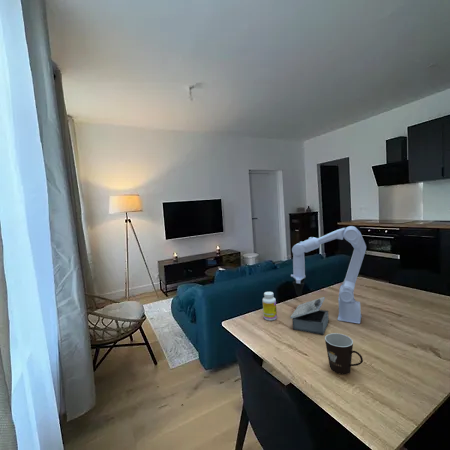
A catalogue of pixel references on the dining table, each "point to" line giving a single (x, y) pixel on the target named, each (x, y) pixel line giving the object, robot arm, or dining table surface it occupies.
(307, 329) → the grey square box
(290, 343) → the dining table surface
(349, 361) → the coffee mug
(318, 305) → the steel lid
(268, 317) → the supplement bottle
